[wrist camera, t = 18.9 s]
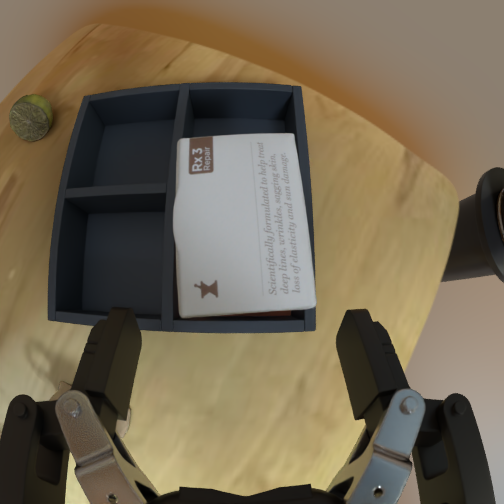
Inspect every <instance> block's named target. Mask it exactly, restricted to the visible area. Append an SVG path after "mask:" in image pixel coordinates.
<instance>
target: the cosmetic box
mask: <svg viewBox="0 0 504 504" xmlns="http://www.w3.org/2000/svg"><path fill="white" fill-rule="evenodd" d="M173 233H174V239H175V244H176V270H177V290H178V306H179V315H180V316H181V317H182V318H192V317H206V316H220V315H233V314H244V313H257V312H269V311H286V310H302V309H310V308H313V307H315V306H316V304H317V301H316V290H315V281H314V272H313V263H312V254H311V246H310V238H309V230H308V222H307V214H306V207H305V200H304V193H303V186H302V180H301V174H300V168H299V161H298V155H297V149H296V144H295V136H294V134H293V133H268V134H239V135H221V136H208V137H196V138H183V139H179V141H178V143H177V162H176V197H175V202H174V208H173Z"/></svg>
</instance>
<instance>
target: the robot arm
mask: <svg viewBox="0 0 504 504" xmlns="http://www.w3.org/2000/svg"><path fill="white" fill-rule="evenodd" d="M495 213H496V222H497V227H498V231H499V235H500V238H501V241H502V243H503V246H504V188H503V189H501V190H500V191H499V193H498V195H497V198H496V206H495ZM391 343H392V342H391V339H390V337H389V334H388V332H387V330H386V329H385V328H384V327H383V326H382V325H381V324H380V323H379V322H378V321H377V322H373V321H372V319H371V316H370V314H369V312H368V310H367V309H354V310H347V311H346V313H345V315H344V318H343V320H342V323H341V326H340V328H339V331H338V333H337V336H336V348H337V352H338V356H339V359H340V363H341V367H342V371H343V374H344V378H345V382H346V386H347V390H348V394H349V398H350V402H351V406H352V410H353V414H354V418H355V420H359V419H365V423H366V425H365V426H364V428H363V430H362V432H361V434H360V436H359V438H358V440H357V442H356V444H355V446H354V448H353V450H352V452H351V454H350V455H349V457H348V459H347V461H346V463H345V464H344V466H343V467H342V468H341V470H340V471H339V472H338V473H337V474H336V476H335V477H334V479H333V480H332V482H331V483H330V485H329V486H328V488H327V490H326V491H324V490H320V489H315V488H311V484H306V485H298V486H289V487H279V488H276V489H272V490H269V491H266V492H262V493H258V494H255V495H251V496H240V495H235V494H231V493H226V492H222V491H218V490H214V489H205V488H190V487H179V491H174V492H170V493H167V494H164V495H160V494H159V493H158V491H157V490H156V488H155V487H154V486H153V484H152V483H151V482H150V480H149V479H148V478H147V476H146V475H145V474H144V473H143V472H142V471H141V469H140V468H139V467H138V465H137V464H136V462H135V461H134V459H133V457H132V456H131V454H130V452H129V451H128V449H127V447H126V446H125V444H124V442H123V441H122V439H121V437H120V435H119V433H118V432H117V430H116V424H117V420H122V421H126V420H127V415H128V409H129V404H130V398H131V393H132V388H133V383H134V378H135V373H136V369H137V364H138V360H139V355H140V351H141V345H142V337H141V332H140V329H139V326H138V323H137V321H136V318H135V314H134V311H133V309H132V308H126V307H112V308H111V309H110V312H109V314H108V317H107V320H101V319H100V320H99V321H98V322H97V324H96V325H95V326H94V327H93V328H92V329H91V332H90V335H89V337H88V340H87V343H86V346H85V348H84V352H83V354H82V357H81V360H80V363H79V366H78V369H77V372H76V375H75V378H74V381H73V384H72V387H71V389H70V390H69V391H67V392H65V393H63V394H62V395H61V396H60V397H59V398H58V400H53V401H42V402H35V401H34V400H33V399H32V398H31V397H30V396H28V395H18V396H16V397H15V398H14V399H13V400H12V401H11V402H10V404H9V407H8V410H7V414H6V418H5V422H4V426H3V430H2V435H1V440H0V504H65V493H66V480H67V470H68V461H69V453H70V451H71V453H72V455H73V457H74V459H75V462H76V467H75V469H74V470H75V475H76V477H77V479H78V481H79V483H80V485H81V487H82V489H83V491H84V493H85V495H86V496H87V498H88V500H89V502H90V504H397V502H398V500H399V498H400V496H401V494H402V491H403V489H404V487H405V485H406V482H407V480H408V478H409V475H410V472H411V470H412V462H411V461H410V460H409V458H410V454H411V452H412V456H413V461H414V467H415V472H416V477H417V483H418V489H419V496H420V502H421V504H496V503H495V497H494V491H493V486H492V481H491V476H490V471H489V466H488V462H487V458H486V454H485V450H484V447H483V443H482V439H481V436H480V432H479V429H478V426H477V423H476V419H475V416H474V414H473V410H472V408H471V405H470V402H469V401H468V399H467V398H466V397H465V396H463V395H461V394H458V393H454V394H451V395H449V396H448V397H447V398H446V399H445V400H432V399H424V398H423V397H422V396H421V395H420V394H419V393H418V392H416V391H415V390H412V389H411V388H410V387H409V385H408V382H407V380H406V377H405V374H404V372H403V369H402V367H401V364H400V361H399V359H398V356H397V354H396V353H395V349H394V346H393V344H391ZM374 495H375V496H374ZM116 501H117V503H116Z"/></svg>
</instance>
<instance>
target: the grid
mask: <svg viewBox="0 0 504 504" xmlns="http://www.w3.org/2000/svg"><path fill="white" fill-rule="evenodd" d="M268 133H293V134H294V136H295V144H296V149H297V155H298V161H299V168H300V174H301V180H302V186H303V193H304V200H305V207H306V214H307V222H308V230H309V238H310V246H311V254H312V263H313V272H314V281H315V252H314V228H313V209H312V193H311V179H310V166H309V155H308V144H307V133H306V124H305V114H304V106H303V97H302V89H301V86H291V85H281V84H266V83H239V82H210V83H182V84H170V85H158V86H148V87H139V88H131V89H124V90H117V91H111V92H105V93H99V94H94V95H88V96H84V98H83V101H82V103H81V106H80V109H79V112H78V115H77V119H76V122H75V125H74V128H73V132H72V135H71V139H70V143H69V146H68V150H67V154H66V158H65V162H64V167H63V171H62V176H61V181H60V186H59V191H58V196H57V202H56V208H55V215H54V222H53V230H52V238H51V248H50V260H49V276H48V320H50V321H57V322H65V323H72V324H81V325H90V326H95V325H96V324H97V322H98V321H99V320H100V319H101V320H107V317H108V314H109V312H110V309H111V308H112V307H126V308H132V309H133V311H134V314H135V318H136V321H137V323H138V326H139V329H140V330H149V331H167V332H192V333H283V332H304V331H305V332H306V331H315V330H316V306H315V307H313V308H310V309H302V310H286V311H269V312H257V313H244V314H233V315H220V316H206V317H192V318H182V317H181V316H180V315H179V306H178V290H177V270H176V244H175V239H174V233H173V208H174V202H175V197H176V162H177V143H178V141H179V139H183V138H196V137H208V136H221V135H239V134H268Z"/></svg>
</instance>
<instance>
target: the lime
mask: <svg viewBox="0 0 504 504" xmlns="http://www.w3.org/2000/svg"><path fill="white" fill-rule="evenodd" d="M52 118H53V114H52V107H51V104H50V103H49V101H48V100H46V98H44V97H42V96H39V95H36V94H32V95H26V96H24V97H22V98H20V99H19V100H18V101H17V102H16V103H15V104H14V105H13V107H12V109H11V111H10V115H9V119H10V126H11V128H12V130H13V131H14V132H15V133H16V134H17V135H18V136H19V137H21V138H23V139H24V140H28V141H35V140H38V139H41V138H42V137H43V136H44V135H45V134H46V133H47V131H48V130H49V129H50V127H51V124H52Z"/></svg>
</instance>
